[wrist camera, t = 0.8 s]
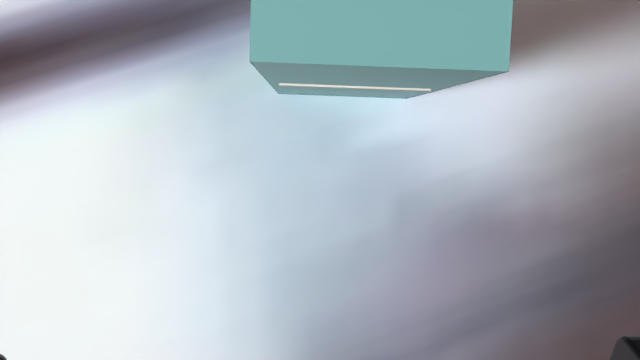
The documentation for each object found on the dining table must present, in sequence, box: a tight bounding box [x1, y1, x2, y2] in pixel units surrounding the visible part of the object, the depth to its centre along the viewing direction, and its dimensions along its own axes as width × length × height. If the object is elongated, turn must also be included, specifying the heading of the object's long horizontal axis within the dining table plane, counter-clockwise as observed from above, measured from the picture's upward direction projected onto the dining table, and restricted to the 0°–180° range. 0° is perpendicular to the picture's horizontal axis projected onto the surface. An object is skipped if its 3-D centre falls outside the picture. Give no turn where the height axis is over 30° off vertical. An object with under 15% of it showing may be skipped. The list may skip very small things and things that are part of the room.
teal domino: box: [250, 0, 513, 98], centre depth 17 cm, size 2×5×12 cm, turn 88°
